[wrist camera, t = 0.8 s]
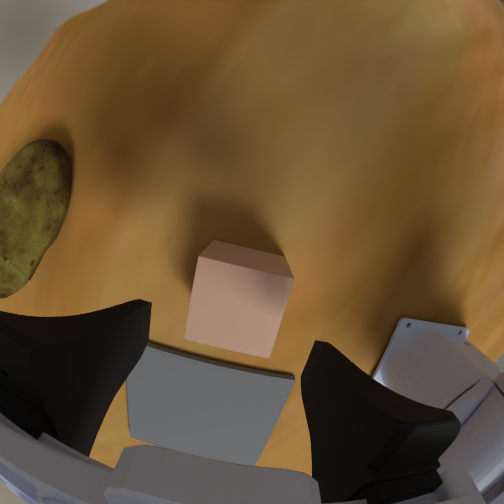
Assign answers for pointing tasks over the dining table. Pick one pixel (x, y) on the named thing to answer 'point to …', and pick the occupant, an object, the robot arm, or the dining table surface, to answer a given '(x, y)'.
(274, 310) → the cube
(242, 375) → the mat
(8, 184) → the potato
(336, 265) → the dining table surface
